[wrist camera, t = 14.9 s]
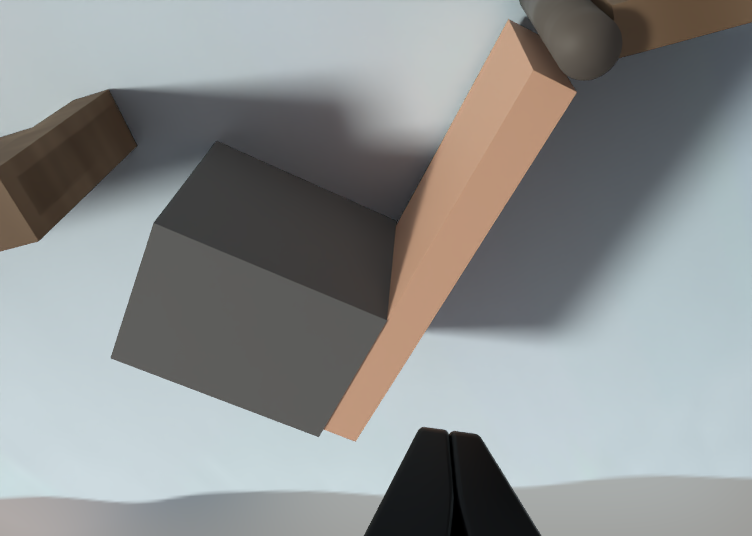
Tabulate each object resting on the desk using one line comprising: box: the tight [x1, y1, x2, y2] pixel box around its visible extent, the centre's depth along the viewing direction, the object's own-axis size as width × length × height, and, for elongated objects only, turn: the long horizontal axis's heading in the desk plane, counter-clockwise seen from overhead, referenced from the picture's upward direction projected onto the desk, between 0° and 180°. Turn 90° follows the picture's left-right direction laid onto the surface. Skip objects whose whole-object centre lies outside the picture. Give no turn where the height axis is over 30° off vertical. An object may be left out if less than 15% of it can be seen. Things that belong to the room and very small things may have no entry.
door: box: [324, 19, 577, 442], centre depth 18 cm, size 11×1×5 cm, turn 155°
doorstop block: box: [111, 141, 396, 437], centre depth 20 cm, size 6×4×6 cm
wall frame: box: [0, 0, 752, 251], centre depth 17 cm, size 28×2×6 cm, turn 107°
